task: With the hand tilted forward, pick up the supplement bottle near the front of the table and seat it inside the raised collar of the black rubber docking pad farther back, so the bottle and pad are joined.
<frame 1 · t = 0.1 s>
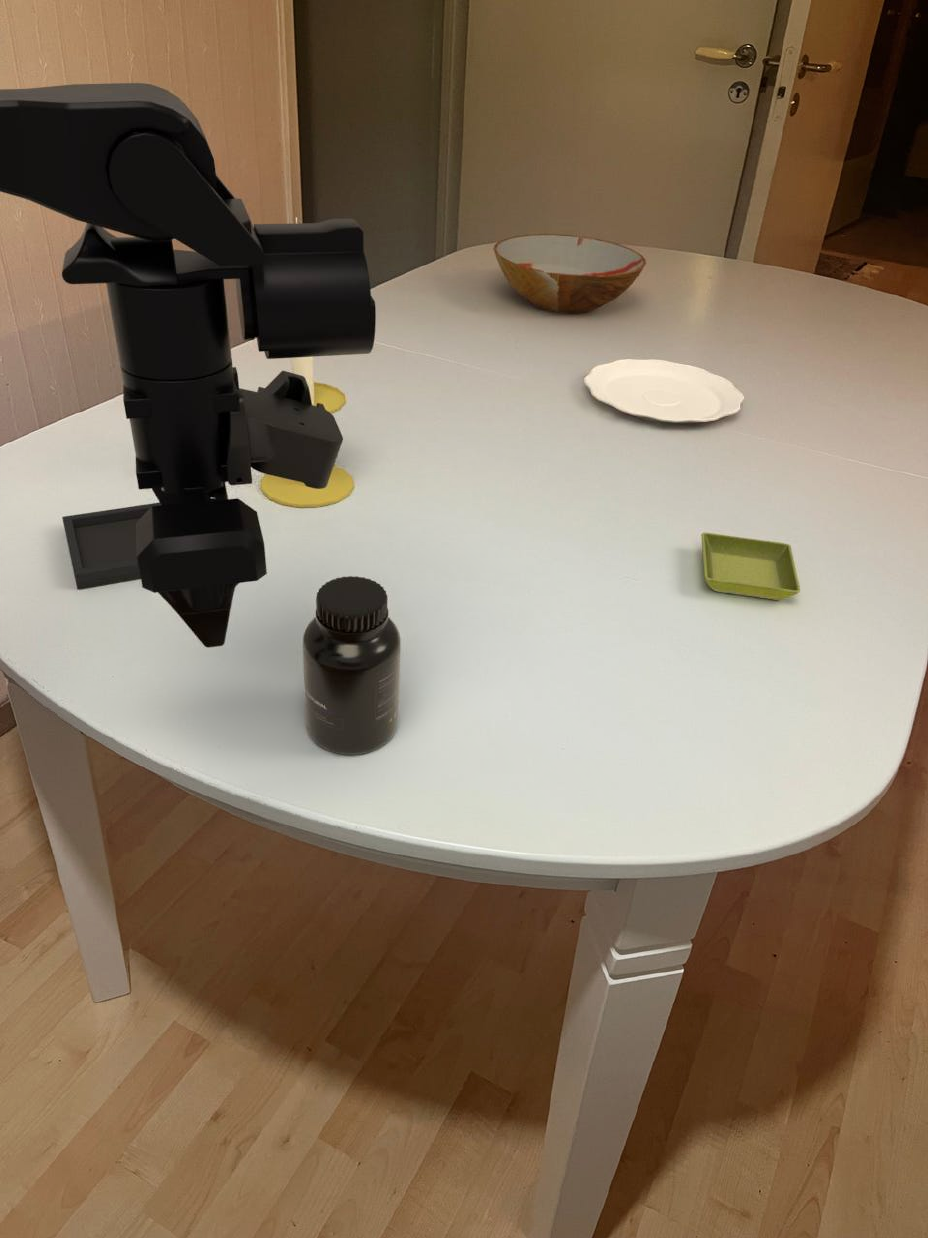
hand: (209, 601, 58), 13 cm above the table, tool pointing down, fingers open, 9 cm apart
candle: (307, 486, 99), on the table
supplement bottle: (352, 728, 69), on the table
dock pad: (131, 549, 87), on the table
bowl: (563, 303, 156), on the table
plate: (660, 400, 124), on the table
olive green square dish: (743, 580, 89), on the table
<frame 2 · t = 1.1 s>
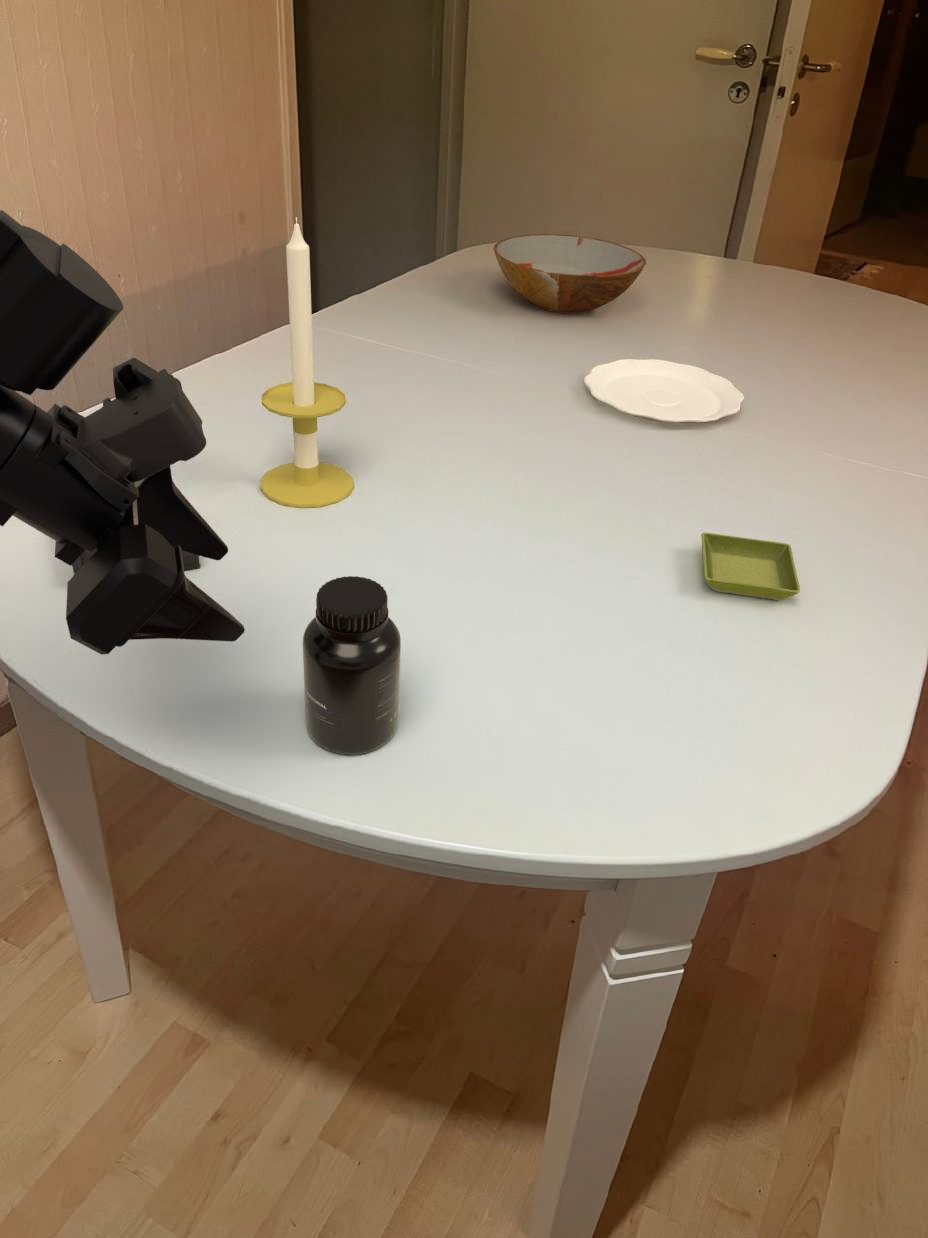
hand: (231, 592, 59), 13 cm above the table, tool tilted 45°, fingers open, 9 cm apart
nothing on the table moved.
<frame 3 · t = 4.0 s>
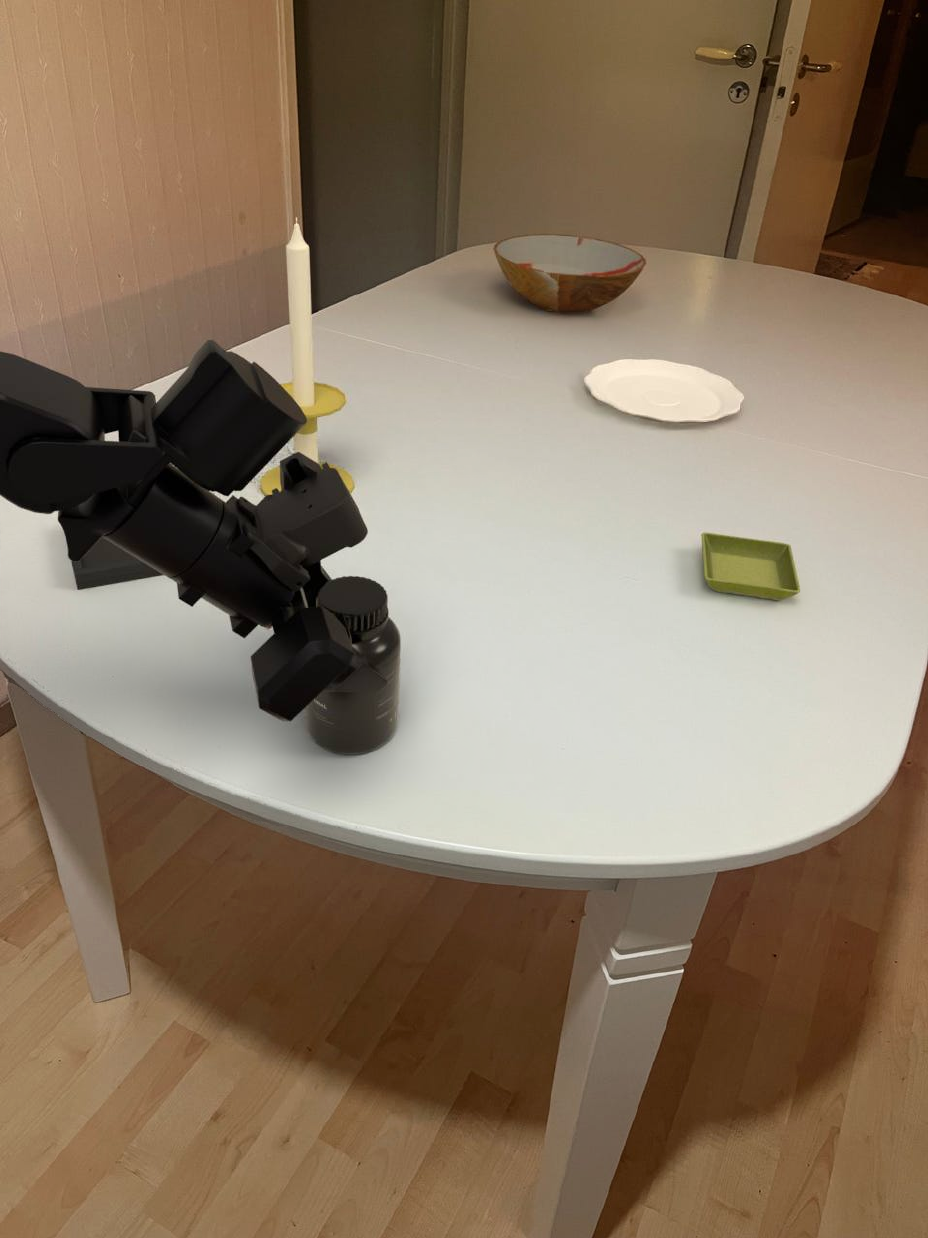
hand: (371, 654, 65), 7 cm above the table, tool tilted 45°, fingers closed on supplement bottle, 7 cm apart
supplement bottle: (352, 728, 69), on the table, touching gripper
everything else where it was.
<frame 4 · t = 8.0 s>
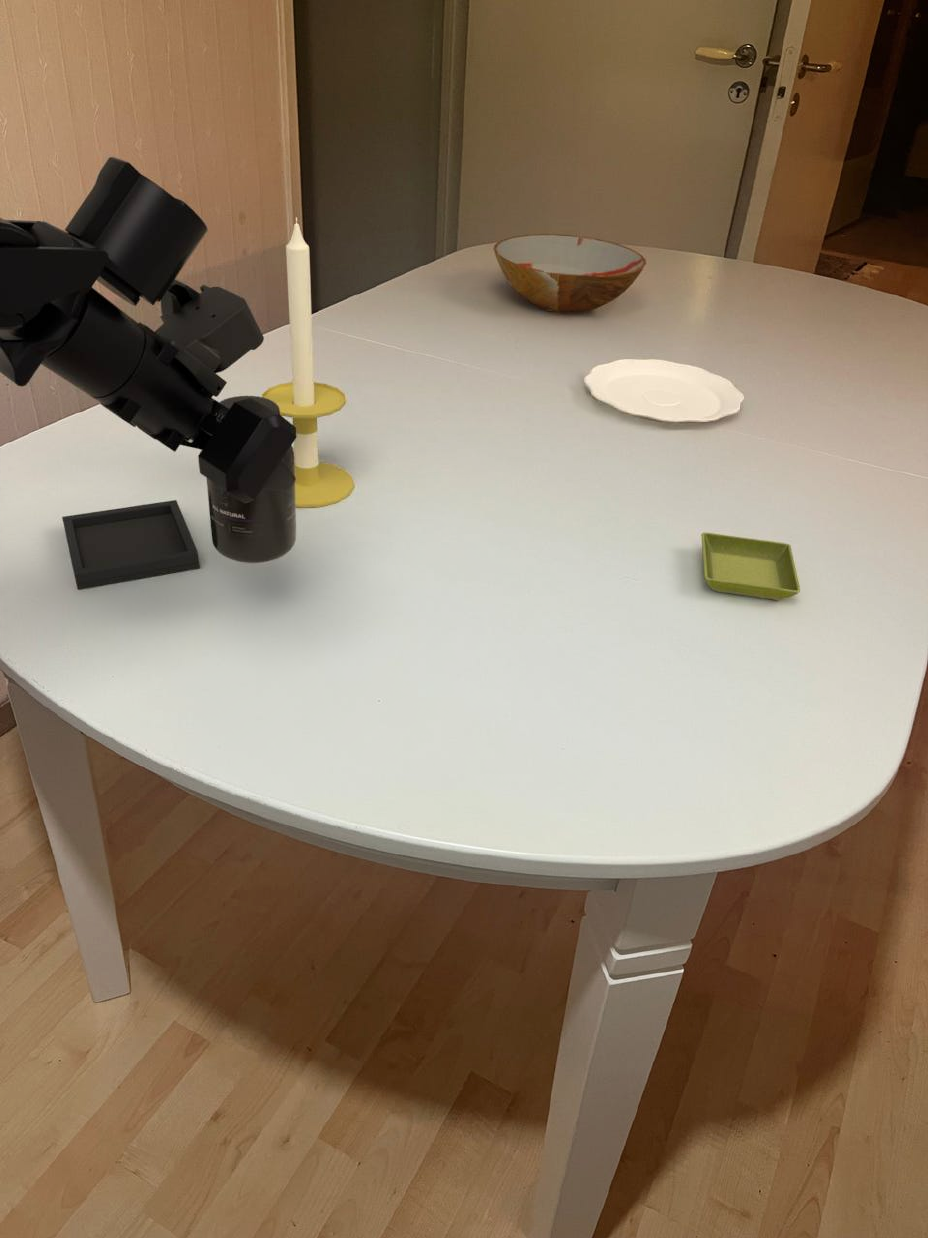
hand: (265, 467, 73), 13 cm above the table, tool tilted 45°, fingers closed on supplement bottle, 7 cm apart
supplement bottle: (255, 546, 76), point 6 cm above the table, touching gripper
everything else where it was.
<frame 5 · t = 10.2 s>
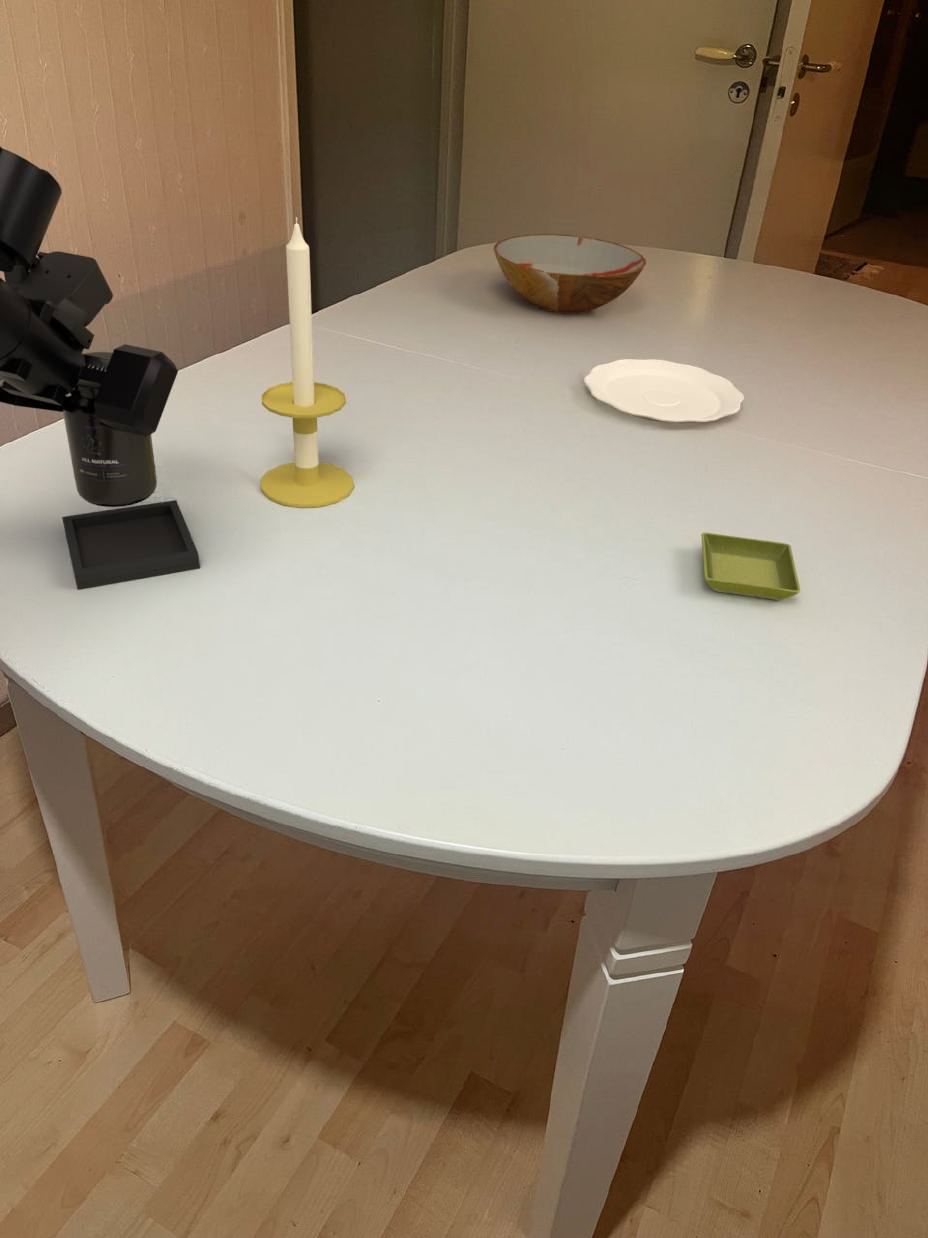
hand: (118, 416, 80), 13 cm above the table, tool tilted 45°, fingers closed on supplement bottle, 7 cm apart
supplement bottle: (119, 493, 83), point 6 cm above the table, touching gripper
everything else where it was.
when the fingers open (7 cm above the table, at t = 12.3 s): supplement bottle stays where it is, resting on dock pad.
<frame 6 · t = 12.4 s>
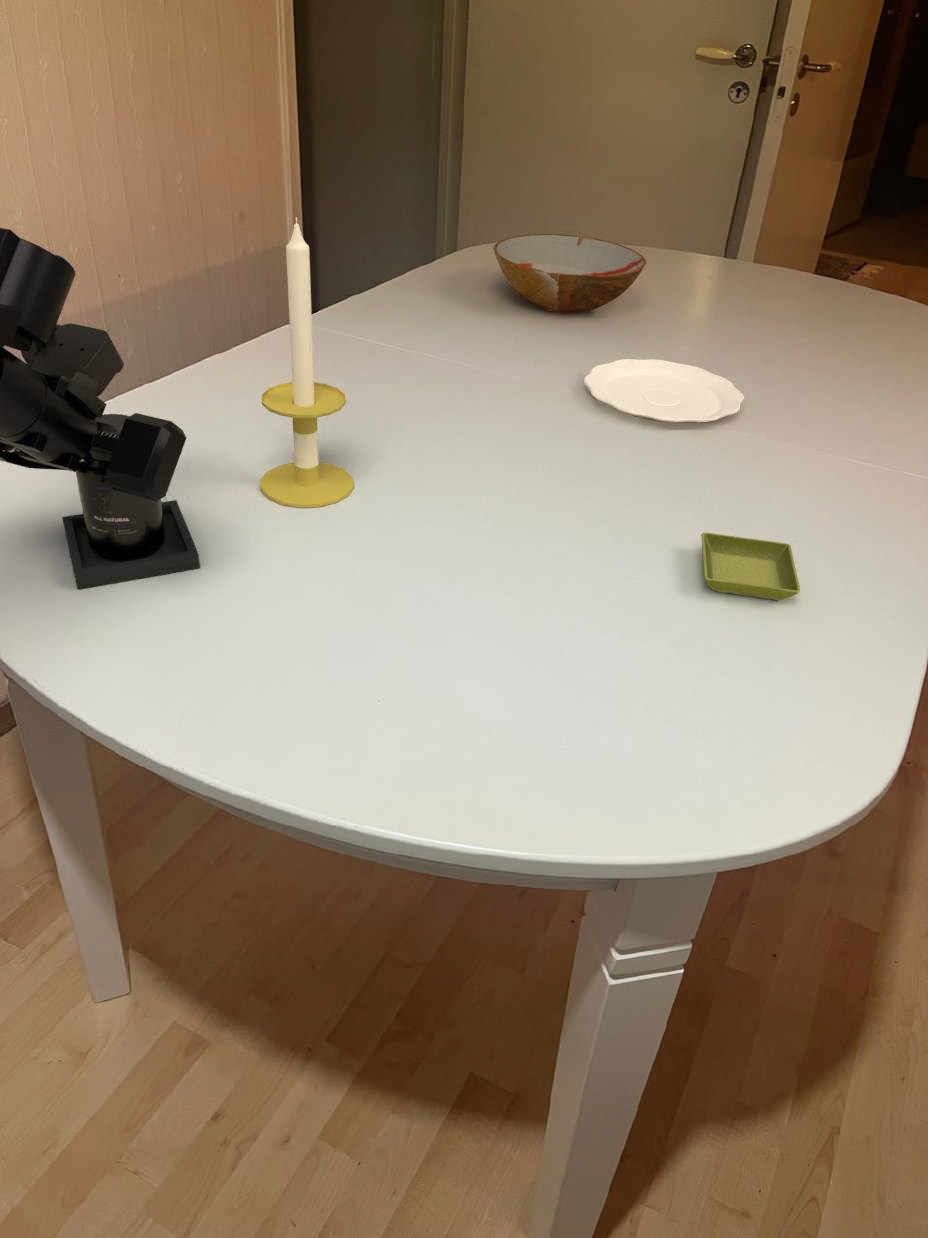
hand: (128, 474, 83), 7 cm above the table, tool tilted 45°, fingers open, 7 cm apart
supplement bottle: (129, 545, 86), resting on dock pad
everything else where it was.
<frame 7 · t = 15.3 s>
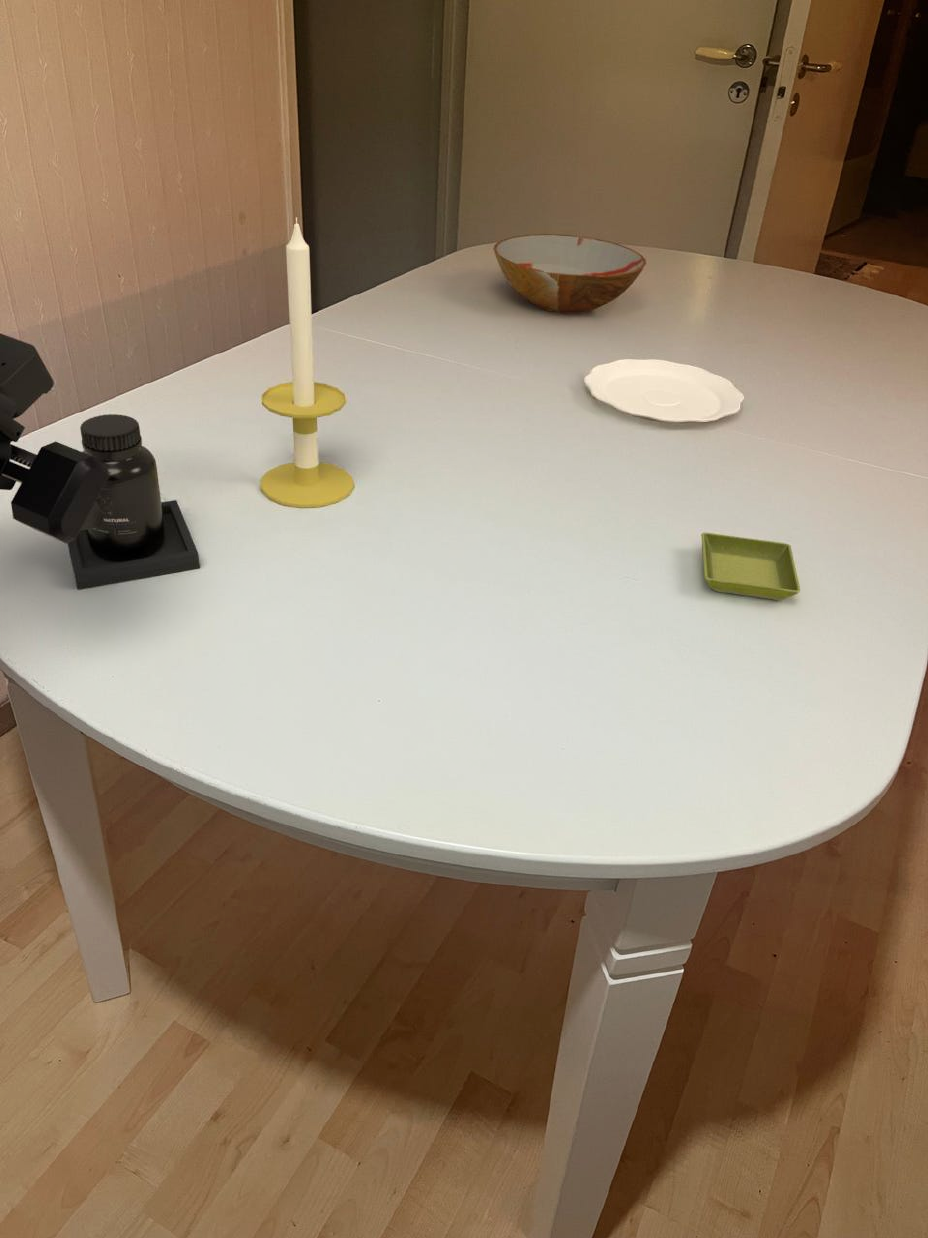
hand: (55, 502, 75), 9 cm above the table, tool tilted 40°, fingers open, 9 cm apart
nothing on the table moved.
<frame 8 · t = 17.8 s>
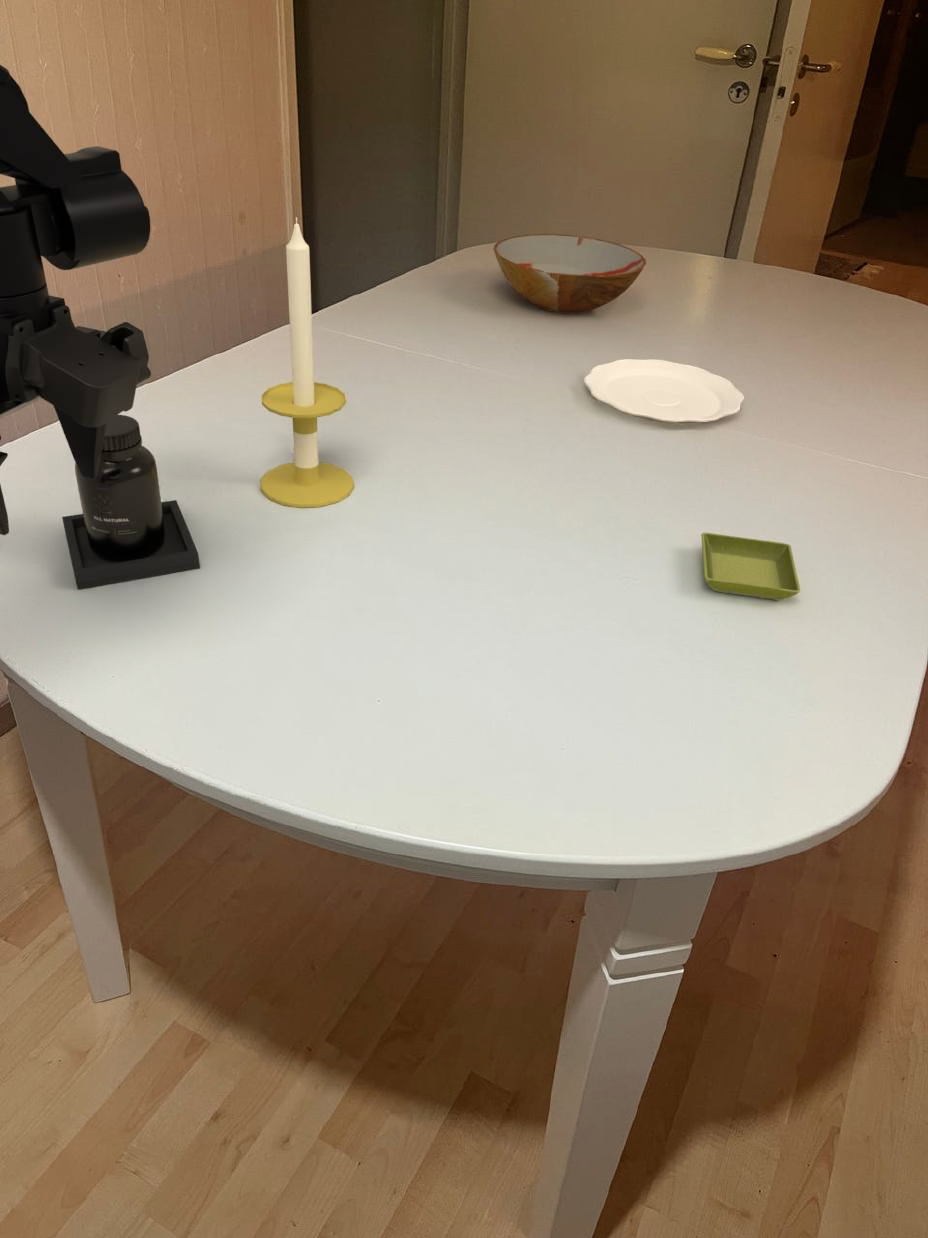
hand: (48, 503, 67), 13 cm above the table, tool pointing down, fingers open, 9 cm apart
nothing on the table moved.
at the end: supplement bottle 0.1 cm off-centre on the dock pad, point 0.4 cm above the dock pad's base; supplement bottle tilted 0°; the gripper is holding nothing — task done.
